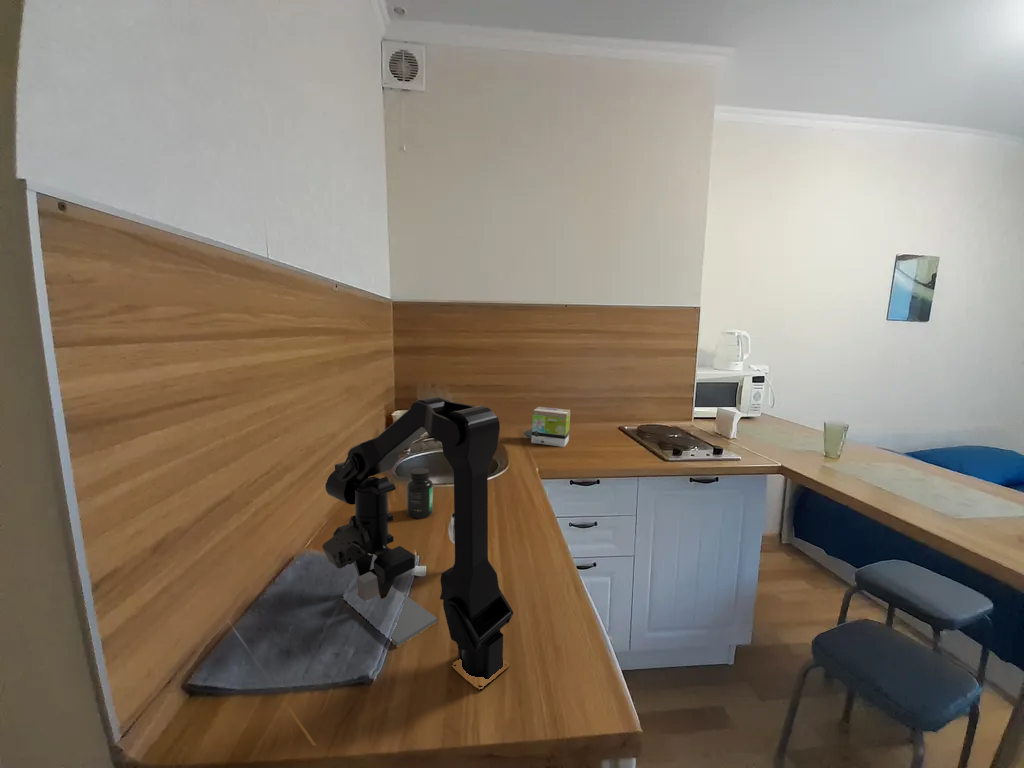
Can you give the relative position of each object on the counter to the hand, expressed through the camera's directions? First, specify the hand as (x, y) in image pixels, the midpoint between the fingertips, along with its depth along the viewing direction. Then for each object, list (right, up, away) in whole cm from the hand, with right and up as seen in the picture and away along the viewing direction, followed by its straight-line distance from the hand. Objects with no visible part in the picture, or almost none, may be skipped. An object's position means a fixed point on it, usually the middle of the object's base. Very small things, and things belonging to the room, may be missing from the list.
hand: (373, 590), depth 82 cm
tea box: (+43, +12, +111) cm, 119 cm away
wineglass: (+15, -1, +11) cm, 19 cm away
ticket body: (+7, -3, -6) cm, 9 cm away
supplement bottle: (+1, +3, +37) cm, 37 cm away
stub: (0, -2, 0) cm, 2 cm away
